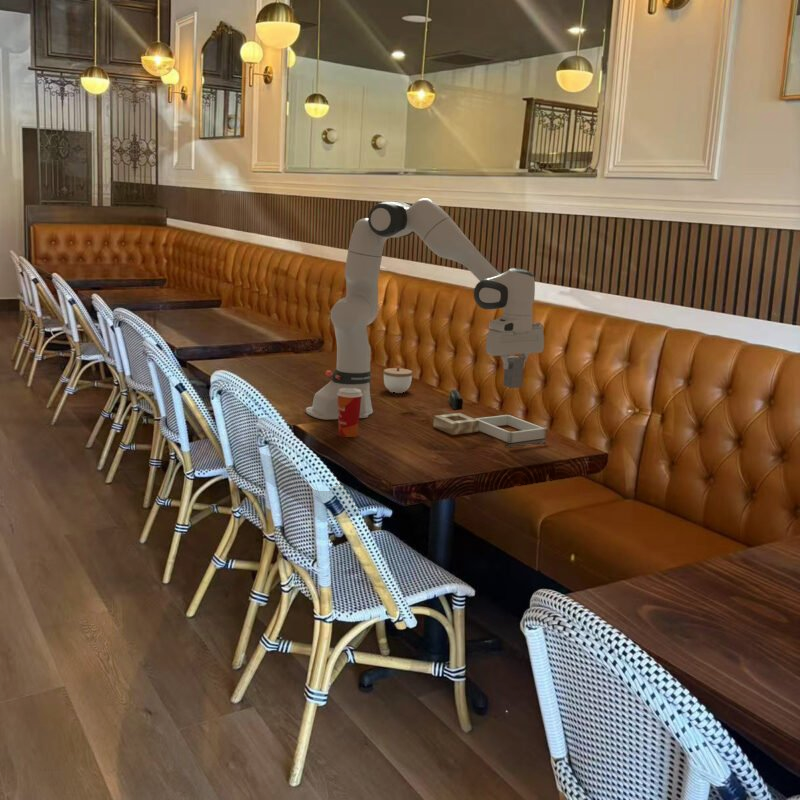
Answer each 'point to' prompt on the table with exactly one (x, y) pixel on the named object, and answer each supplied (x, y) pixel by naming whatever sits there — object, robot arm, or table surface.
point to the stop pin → (514, 372)
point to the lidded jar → (397, 379)
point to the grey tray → (527, 433)
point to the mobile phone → (456, 400)
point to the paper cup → (349, 411)
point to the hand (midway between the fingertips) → (513, 368)
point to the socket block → (456, 423)
